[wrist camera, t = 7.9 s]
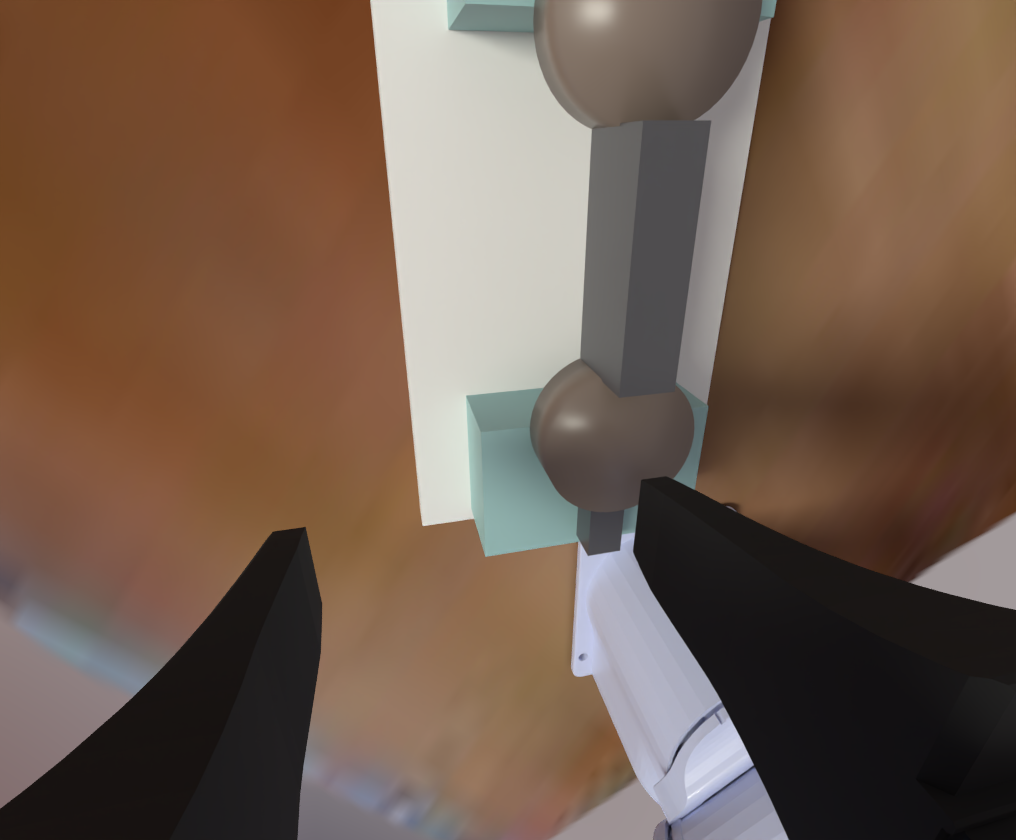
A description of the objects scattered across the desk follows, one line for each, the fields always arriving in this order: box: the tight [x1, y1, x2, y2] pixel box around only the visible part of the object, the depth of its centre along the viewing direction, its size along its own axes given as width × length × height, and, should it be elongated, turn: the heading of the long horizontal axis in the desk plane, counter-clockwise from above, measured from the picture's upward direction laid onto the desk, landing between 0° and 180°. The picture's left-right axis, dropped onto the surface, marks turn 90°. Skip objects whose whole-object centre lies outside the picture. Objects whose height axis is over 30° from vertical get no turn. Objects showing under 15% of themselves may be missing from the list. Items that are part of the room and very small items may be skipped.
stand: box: [370, 0, 777, 557], centre depth 17 cm, size 22×12×4 cm, turn 1°
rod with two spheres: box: [530, 0, 762, 556], centre depth 14 cm, size 20×5×3 cm, turn 1°
